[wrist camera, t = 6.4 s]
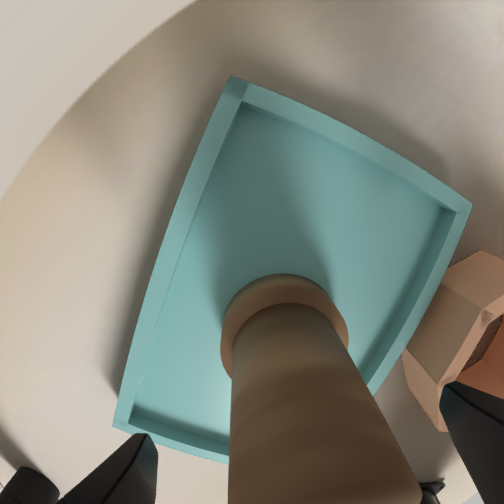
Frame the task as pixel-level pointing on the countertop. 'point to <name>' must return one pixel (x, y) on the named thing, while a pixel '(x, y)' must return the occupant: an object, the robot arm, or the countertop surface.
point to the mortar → (458, 334)
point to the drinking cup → (29, 489)
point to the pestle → (303, 404)
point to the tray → (281, 255)
